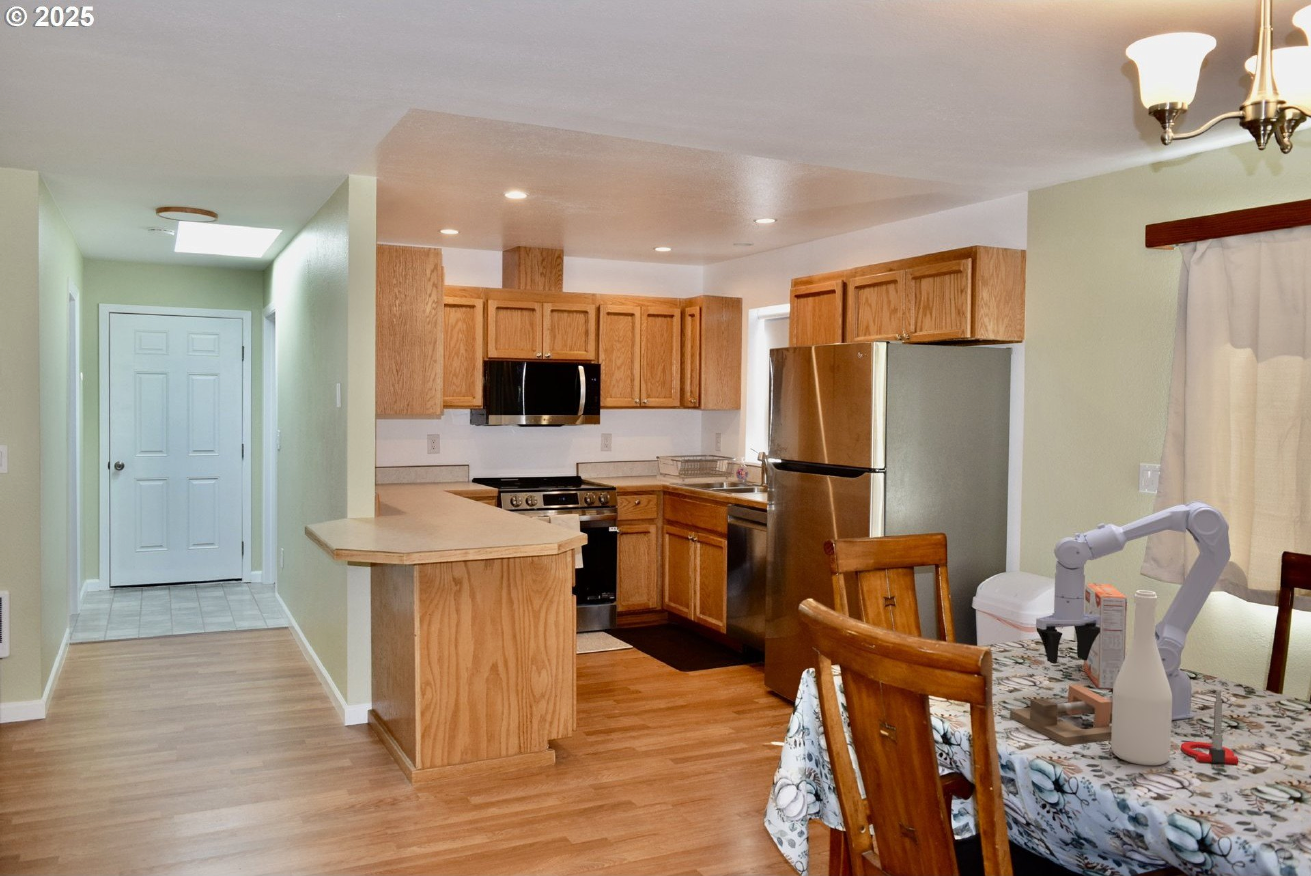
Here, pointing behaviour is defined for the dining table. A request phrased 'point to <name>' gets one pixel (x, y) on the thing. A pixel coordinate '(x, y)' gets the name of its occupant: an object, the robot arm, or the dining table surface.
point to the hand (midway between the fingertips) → (1067, 660)
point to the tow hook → (1215, 749)
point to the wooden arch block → (1093, 699)
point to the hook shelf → (1060, 721)
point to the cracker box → (1106, 634)
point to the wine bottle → (1142, 694)
